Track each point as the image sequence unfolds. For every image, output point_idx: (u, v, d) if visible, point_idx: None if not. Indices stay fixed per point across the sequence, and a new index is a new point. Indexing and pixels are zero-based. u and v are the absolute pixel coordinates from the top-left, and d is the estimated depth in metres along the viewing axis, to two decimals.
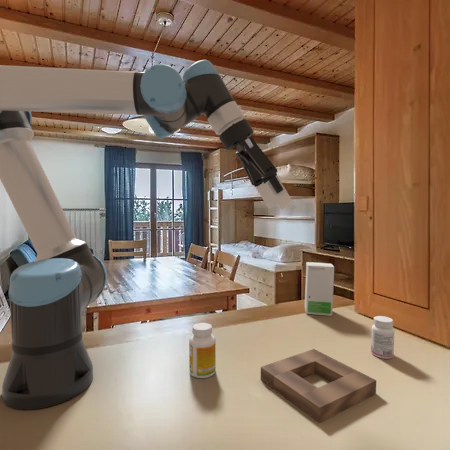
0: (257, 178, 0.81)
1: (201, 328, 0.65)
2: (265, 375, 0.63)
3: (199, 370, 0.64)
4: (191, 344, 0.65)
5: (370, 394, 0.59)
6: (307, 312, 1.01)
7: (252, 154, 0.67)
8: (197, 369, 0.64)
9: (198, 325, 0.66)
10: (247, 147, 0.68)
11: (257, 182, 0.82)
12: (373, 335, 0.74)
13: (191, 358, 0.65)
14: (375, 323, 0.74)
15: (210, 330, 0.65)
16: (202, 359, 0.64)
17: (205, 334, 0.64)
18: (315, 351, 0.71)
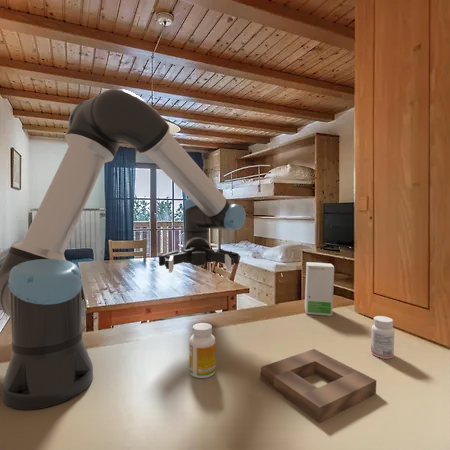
0: (175, 259, 0.82)
1: (201, 328, 0.65)
2: (265, 375, 0.63)
3: (199, 370, 0.64)
4: (191, 344, 0.65)
5: (370, 394, 0.59)
6: (307, 312, 1.01)
7: None
8: (197, 369, 0.64)
9: (198, 325, 0.66)
10: None
11: None
12: (373, 335, 0.74)
13: (191, 358, 0.65)
14: (375, 323, 0.74)
15: (210, 330, 0.65)
16: (202, 359, 0.64)
17: (205, 334, 0.64)
18: (315, 351, 0.71)
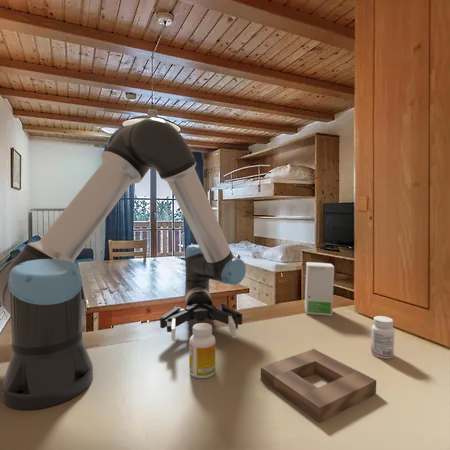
0: (177, 321, 0.79)
1: (201, 328, 0.65)
2: (265, 375, 0.63)
3: (199, 370, 0.64)
4: (191, 344, 0.65)
5: (370, 394, 0.59)
6: (307, 312, 1.01)
7: None
8: (197, 369, 0.64)
9: (198, 325, 0.66)
10: None
11: None
12: (373, 335, 0.74)
13: (191, 358, 0.65)
14: (375, 323, 0.74)
15: (210, 330, 0.65)
16: (202, 359, 0.64)
17: (205, 334, 0.64)
18: (315, 351, 0.71)
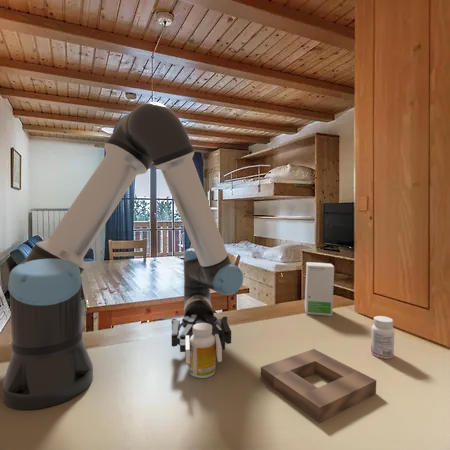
0: None
1: (201, 328, 0.65)
2: (265, 375, 0.63)
3: (199, 370, 0.64)
4: (191, 343, 0.65)
5: (370, 394, 0.59)
6: (307, 312, 1.01)
7: None
8: (197, 369, 0.64)
9: (198, 325, 0.66)
10: (226, 320, 0.77)
11: None
12: (373, 335, 0.74)
13: (191, 358, 0.65)
14: (375, 323, 0.74)
15: (210, 330, 0.65)
16: (202, 359, 0.64)
17: (205, 334, 0.64)
18: (315, 351, 0.71)
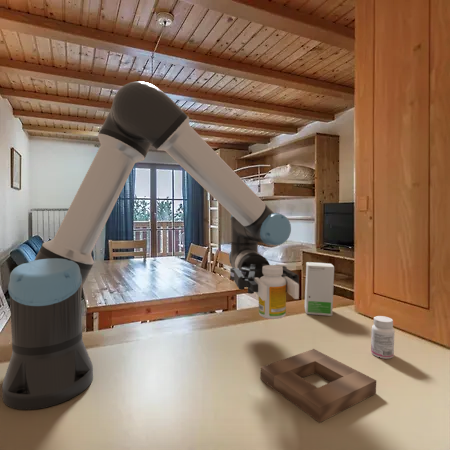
0: None
1: (273, 268, 0.63)
2: (265, 375, 0.63)
3: (272, 310, 0.62)
4: None
5: (370, 394, 0.59)
6: (307, 312, 1.01)
7: None
8: (270, 309, 0.62)
9: (268, 266, 0.64)
10: None
11: None
12: (373, 335, 0.74)
13: None
14: (375, 323, 0.74)
15: (282, 270, 0.63)
16: (275, 299, 0.62)
17: (277, 273, 0.62)
18: (315, 351, 0.71)
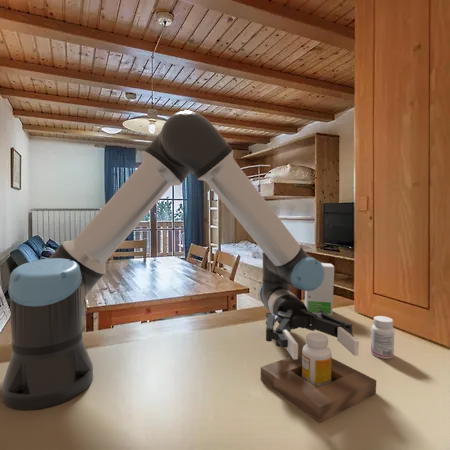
0: None
1: (319, 339, 0.60)
2: (265, 375, 0.63)
3: (318, 384, 0.59)
4: (308, 356, 0.60)
5: (370, 394, 0.59)
6: None
7: None
8: (316, 383, 0.59)
9: (312, 336, 0.61)
10: None
11: None
12: (373, 335, 0.74)
13: (307, 371, 0.60)
14: (375, 323, 0.74)
15: (327, 341, 0.60)
16: (321, 372, 0.59)
17: (324, 345, 0.59)
18: None
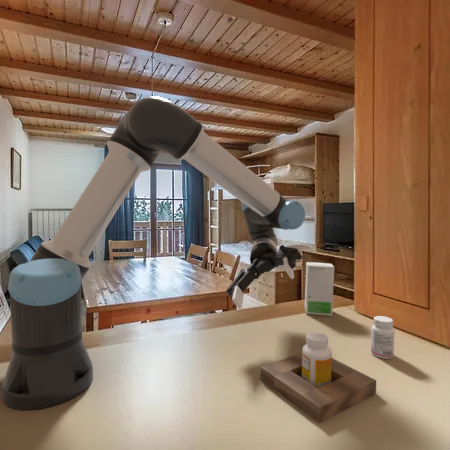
0: (242, 285, 0.80)
1: (319, 339, 0.60)
2: (265, 375, 0.63)
3: (318, 384, 0.59)
4: (308, 355, 0.60)
5: (370, 394, 0.59)
6: (307, 312, 1.01)
7: None
8: (316, 383, 0.59)
9: (312, 336, 0.61)
10: (284, 247, 0.82)
11: None
12: (373, 335, 0.74)
13: (307, 371, 0.60)
14: (375, 323, 0.74)
15: (327, 341, 0.60)
16: (321, 372, 0.59)
17: (323, 345, 0.60)
18: None
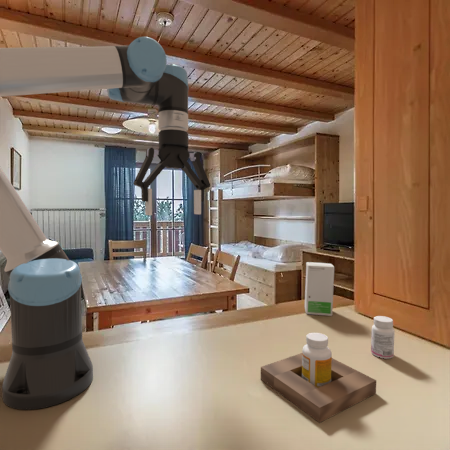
0: (195, 183, 0.87)
1: (319, 339, 0.60)
2: (265, 375, 0.63)
3: (318, 384, 0.59)
4: (308, 356, 0.60)
5: (370, 394, 0.59)
6: (307, 312, 1.01)
7: (143, 162, 0.80)
8: (316, 383, 0.59)
9: (312, 336, 0.61)
10: (146, 155, 0.80)
11: (198, 186, 0.88)
12: (373, 335, 0.74)
13: (307, 371, 0.60)
14: (375, 323, 0.74)
15: (327, 341, 0.60)
16: (321, 372, 0.59)
17: (324, 345, 0.59)
18: None
